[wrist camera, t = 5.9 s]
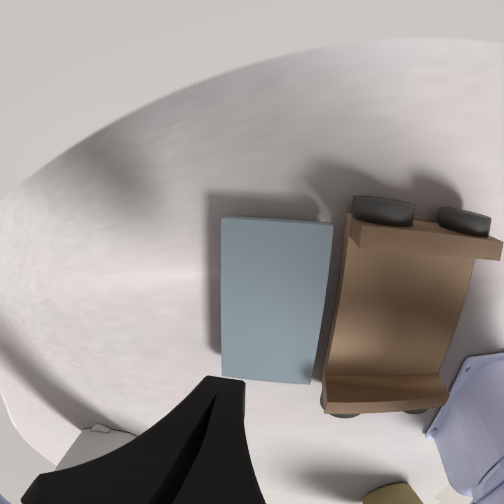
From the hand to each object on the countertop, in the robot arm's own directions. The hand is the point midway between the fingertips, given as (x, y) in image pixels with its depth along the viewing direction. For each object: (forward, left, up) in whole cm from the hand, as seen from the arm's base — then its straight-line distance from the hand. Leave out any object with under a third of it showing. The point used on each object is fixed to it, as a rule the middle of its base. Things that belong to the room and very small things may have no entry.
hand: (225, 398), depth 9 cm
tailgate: (0, -4, -7) cm, 8 cm away
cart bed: (0, -9, -8) cm, 12 cm away
